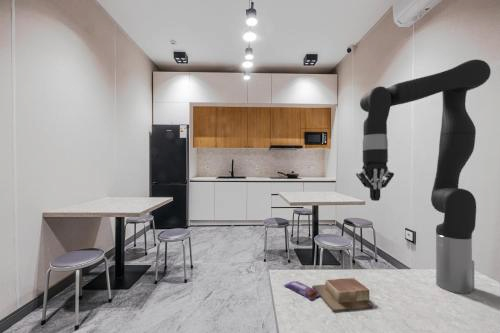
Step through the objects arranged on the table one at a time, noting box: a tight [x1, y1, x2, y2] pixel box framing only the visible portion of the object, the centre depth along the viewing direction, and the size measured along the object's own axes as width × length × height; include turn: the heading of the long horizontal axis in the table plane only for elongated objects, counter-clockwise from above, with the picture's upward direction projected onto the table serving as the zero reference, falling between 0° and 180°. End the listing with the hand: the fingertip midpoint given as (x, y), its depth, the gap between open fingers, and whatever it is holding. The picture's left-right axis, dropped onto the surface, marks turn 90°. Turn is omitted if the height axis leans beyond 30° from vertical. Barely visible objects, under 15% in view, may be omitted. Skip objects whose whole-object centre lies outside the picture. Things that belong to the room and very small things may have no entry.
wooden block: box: [324, 277, 370, 303], centre depth 76 cm, size 3×8×10 cm
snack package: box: [283, 280, 320, 300], centre depth 79 cm, size 12×2×5 cm
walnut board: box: [311, 284, 373, 313], centre depth 75 cm, size 12×14×1 cm
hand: (375, 200), depth 82 cm, fingers closed
